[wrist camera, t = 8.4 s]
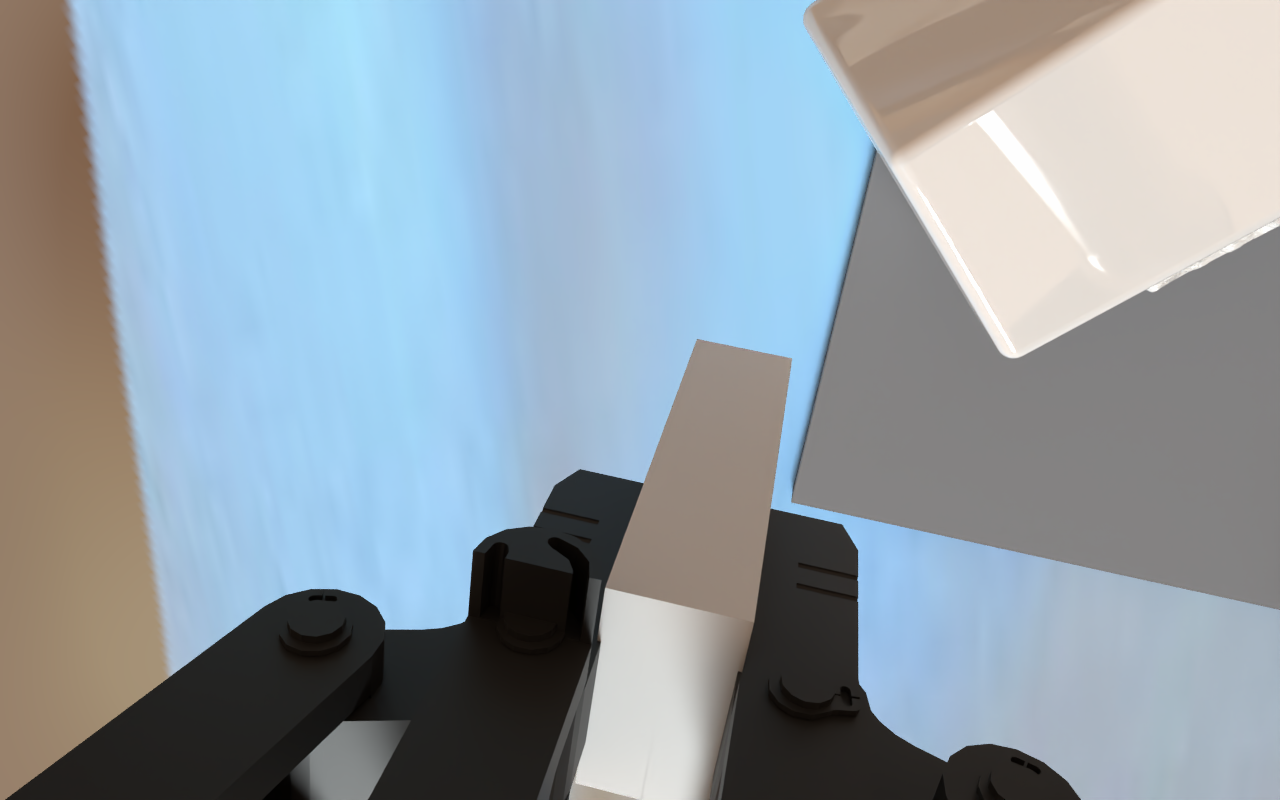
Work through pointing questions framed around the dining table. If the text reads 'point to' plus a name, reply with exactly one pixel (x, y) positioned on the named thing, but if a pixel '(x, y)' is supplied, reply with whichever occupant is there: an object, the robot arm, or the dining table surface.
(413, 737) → the robot arm
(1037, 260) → the jar
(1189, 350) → the mat
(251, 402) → the dining table surface
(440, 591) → the dining table surface
